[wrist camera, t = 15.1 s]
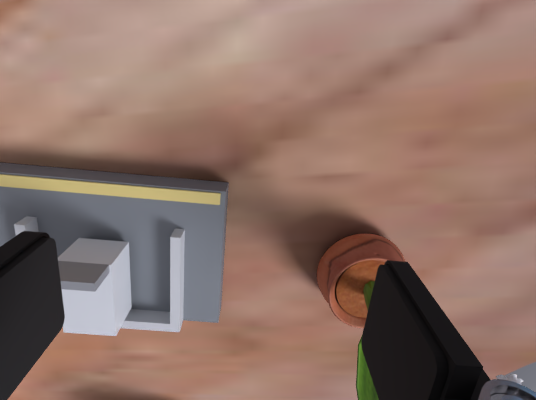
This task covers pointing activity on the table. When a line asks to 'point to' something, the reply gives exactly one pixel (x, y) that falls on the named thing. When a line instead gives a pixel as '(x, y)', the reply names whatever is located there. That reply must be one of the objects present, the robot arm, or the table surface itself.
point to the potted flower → (358, 290)
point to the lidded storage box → (95, 286)
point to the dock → (131, 232)
